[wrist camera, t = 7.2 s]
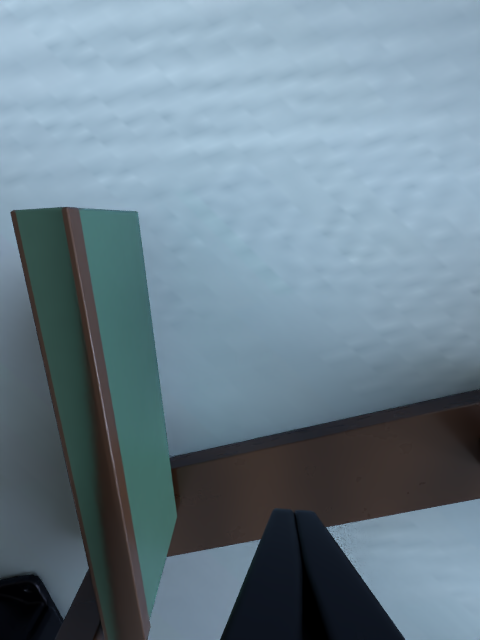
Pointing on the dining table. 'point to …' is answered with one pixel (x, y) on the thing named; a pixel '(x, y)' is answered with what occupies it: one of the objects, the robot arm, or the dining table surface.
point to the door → (104, 398)
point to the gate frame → (316, 480)
